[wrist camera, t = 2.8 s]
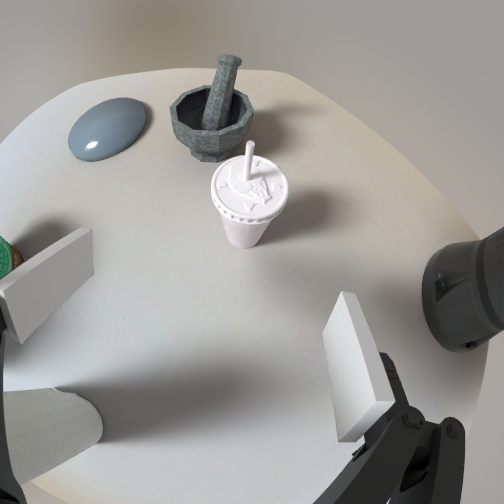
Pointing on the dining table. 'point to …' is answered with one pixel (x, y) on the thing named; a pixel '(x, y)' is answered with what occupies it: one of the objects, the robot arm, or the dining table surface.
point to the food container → (8, 257)
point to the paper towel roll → (47, 429)
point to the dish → (107, 129)
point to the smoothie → (248, 196)
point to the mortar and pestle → (213, 114)
